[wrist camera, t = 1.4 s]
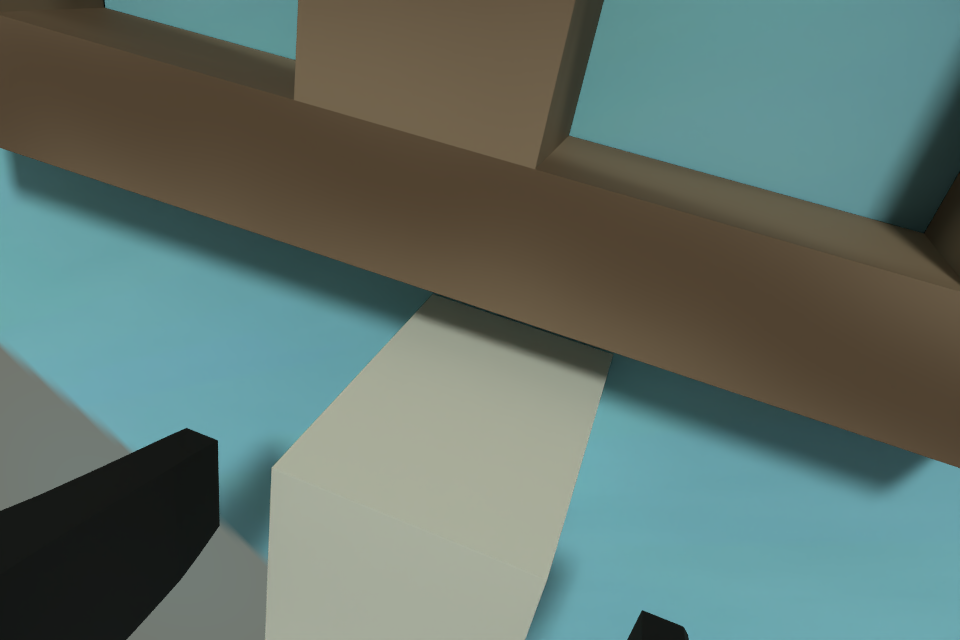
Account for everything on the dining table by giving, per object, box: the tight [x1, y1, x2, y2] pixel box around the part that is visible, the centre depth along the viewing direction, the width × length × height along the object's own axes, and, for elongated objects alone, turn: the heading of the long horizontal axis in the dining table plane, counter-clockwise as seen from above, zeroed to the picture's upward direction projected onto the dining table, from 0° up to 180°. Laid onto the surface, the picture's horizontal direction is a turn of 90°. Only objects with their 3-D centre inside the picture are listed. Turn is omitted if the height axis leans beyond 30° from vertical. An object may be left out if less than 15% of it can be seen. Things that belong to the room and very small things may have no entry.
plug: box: [265, 294, 613, 640], centre depth 12 cm, size 4×4×6 cm
